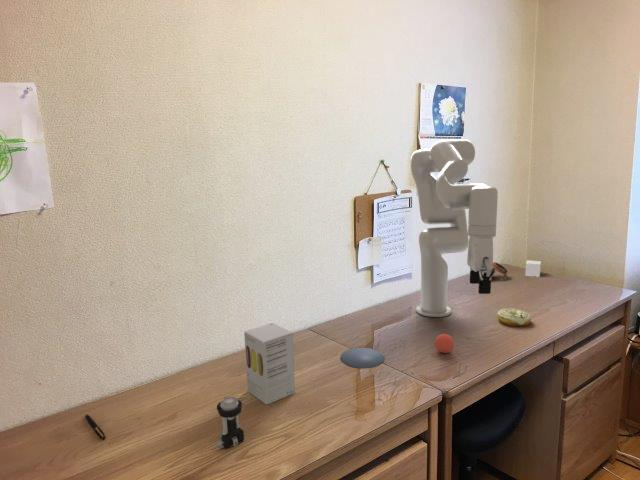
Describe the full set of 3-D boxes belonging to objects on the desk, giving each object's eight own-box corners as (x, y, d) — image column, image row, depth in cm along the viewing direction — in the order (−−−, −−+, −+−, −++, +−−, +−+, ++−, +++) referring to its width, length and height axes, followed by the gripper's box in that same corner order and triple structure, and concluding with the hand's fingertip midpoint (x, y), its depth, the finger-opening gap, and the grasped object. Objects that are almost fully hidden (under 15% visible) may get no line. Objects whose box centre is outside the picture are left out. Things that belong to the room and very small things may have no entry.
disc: (338, 349, 150) (337, 349, 150) (379, 347, 151) (379, 346, 151) (344, 369, 137) (344, 368, 137) (389, 366, 139) (389, 365, 138)
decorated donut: (526, 330, 162) (527, 319, 161) (493, 324, 168) (494, 313, 167) (533, 320, 170) (534, 310, 169) (501, 314, 176) (502, 304, 175)
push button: (223, 456, 101) (219, 413, 99) (209, 445, 105) (206, 403, 103) (249, 442, 105) (246, 400, 103) (235, 432, 109) (232, 392, 107)
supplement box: (246, 391, 127) (242, 330, 124) (275, 379, 133) (272, 321, 129) (266, 405, 120) (263, 342, 116) (296, 392, 126) (294, 331, 122)
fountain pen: (82, 416, 118) (81, 411, 118) (87, 414, 119) (86, 409, 118) (102, 442, 107) (101, 436, 107) (107, 440, 108) (107, 434, 108)
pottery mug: (485, 275, 227) (496, 260, 224) (502, 287, 221) (513, 272, 219) (475, 274, 218) (485, 259, 215) (492, 287, 212) (503, 272, 210)
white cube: (540, 273, 225) (541, 261, 224) (539, 277, 220) (540, 264, 218) (526, 272, 228) (526, 260, 226) (525, 275, 222) (526, 263, 221)
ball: (432, 348, 149) (432, 331, 148) (449, 347, 149) (450, 330, 148) (438, 356, 144) (438, 339, 142) (456, 355, 144) (457, 337, 143)
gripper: (461, 225, 146) (459, 280, 149) (476, 236, 129) (474, 297, 132) (486, 224, 145) (484, 279, 149) (505, 236, 129) (502, 297, 132)
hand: (479, 288), depth 141 cm, fingers open, 9 cm apart
